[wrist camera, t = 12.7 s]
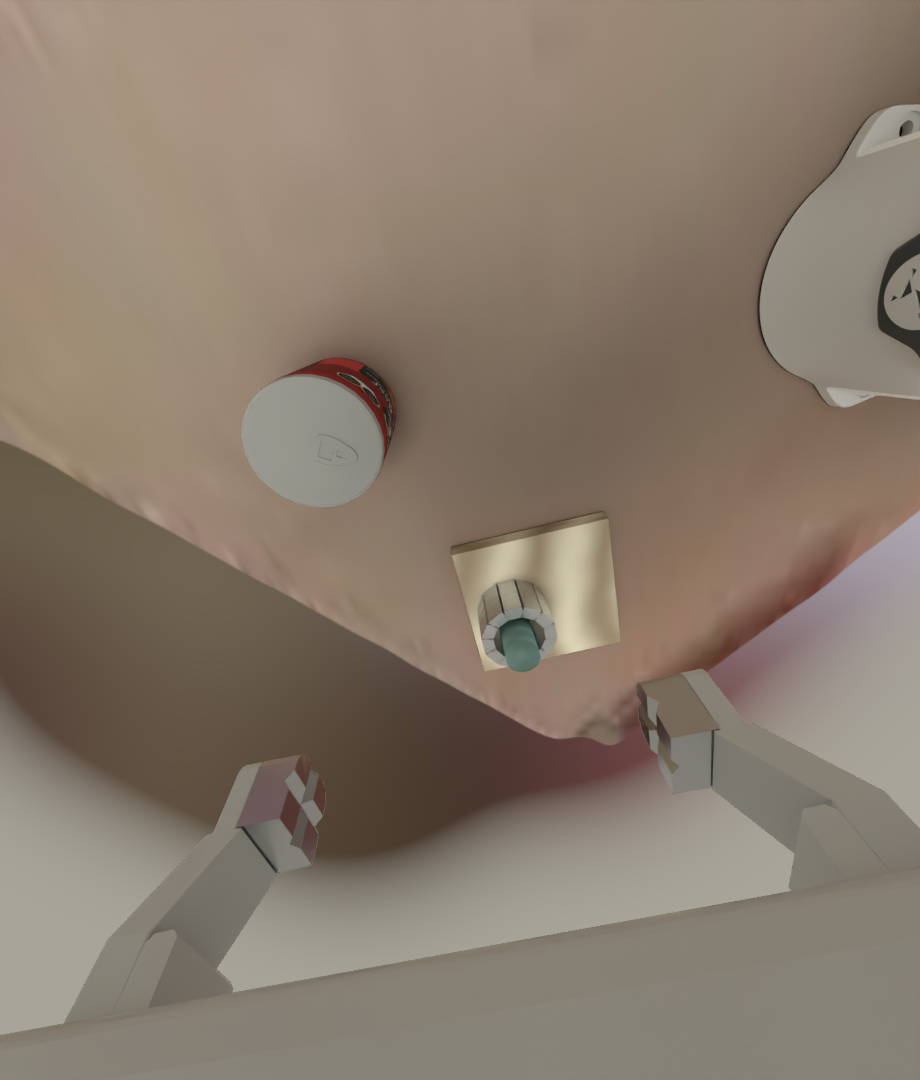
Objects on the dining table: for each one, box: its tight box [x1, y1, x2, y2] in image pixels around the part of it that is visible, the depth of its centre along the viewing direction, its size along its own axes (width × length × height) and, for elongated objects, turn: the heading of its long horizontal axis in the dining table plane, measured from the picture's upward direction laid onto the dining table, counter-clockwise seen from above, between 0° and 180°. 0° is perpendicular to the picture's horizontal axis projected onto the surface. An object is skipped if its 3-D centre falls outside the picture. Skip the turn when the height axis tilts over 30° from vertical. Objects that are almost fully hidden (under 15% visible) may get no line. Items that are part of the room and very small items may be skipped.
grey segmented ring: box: [477, 579, 557, 667], centre depth 41 cm, size 6×6×4 cm
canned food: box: [241, 358, 396, 507], centre depth 31 cm, size 8×8×11 cm
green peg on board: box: [451, 512, 620, 672], centre depth 41 cm, size 14×14×8 cm
